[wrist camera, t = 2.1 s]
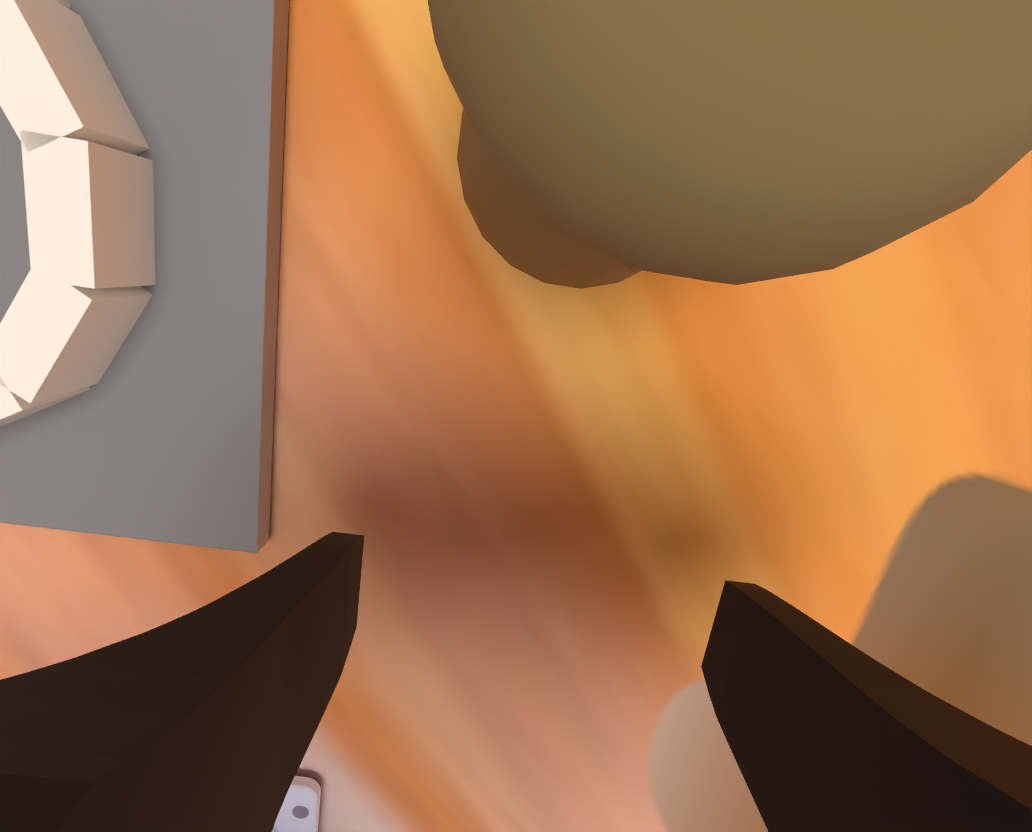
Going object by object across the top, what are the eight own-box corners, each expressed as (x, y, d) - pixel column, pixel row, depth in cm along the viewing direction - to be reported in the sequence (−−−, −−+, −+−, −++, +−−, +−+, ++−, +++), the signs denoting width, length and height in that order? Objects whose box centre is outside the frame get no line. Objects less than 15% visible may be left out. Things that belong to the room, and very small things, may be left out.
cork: (656, 319, 14) (1104, 481, 4) (427, 243, 14) (163, 172, 3) (752, 66, 13) (1983, -908, 2) (501, -32, 12) (497, -2069, 2)
